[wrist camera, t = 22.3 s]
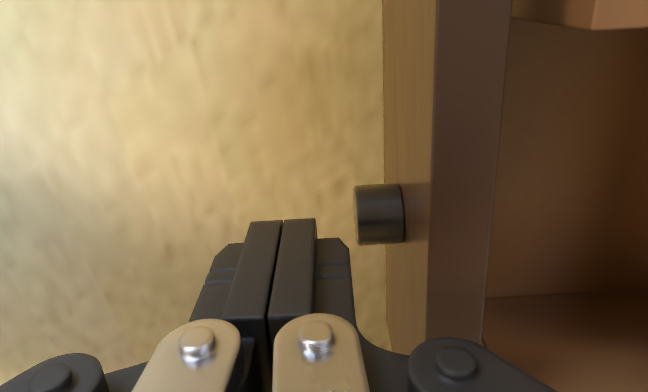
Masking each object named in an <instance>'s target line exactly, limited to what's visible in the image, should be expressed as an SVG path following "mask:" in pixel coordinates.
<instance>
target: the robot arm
mask: <svg viewBox="0 0 648 392" xmlns="http://www.w3.org/2000/svg"><path fill="white" fill-rule="evenodd" d="M0 392H558V391H556V390H554V389H553V388H551V387H549V386H548V385H546V384H544V383H543V382H541V381H539V380H538V379H536V378H534V377H533V376H531V375H530V374H528V373H526V372H525V371H523V370H521V369H520V368H518V367H516V366H515V365H513V364H511V363H510V362H508V361H506V360H505V359H503V358H501V357H500V356H498V355H497V354H495V353H493V352H492V351H490V350H488V349H487V348H485V347H483V346H481V345H479V344H478V343H475V342H473V341H470V340H467V339H463V338H458V337H437V338H433V339H430V340H427V341H424V342H423V343H421V344H419V345H418V346H417V347H416V348H415V349H414V350H413V351H412V352H411V354H410V356H409V355H404V354H399V353H394V352H390V351H387V350H384V349H381V348H379V347H377V346H375V345H373V344H371V343H370V342H369V341H367V340H366V339H365V338H364V337H363V336H362V335H361V333H360V332H359V330H358V328H357V325H356V319H355V308H354V298H353V287H352V277H351V265H350V255H349V248H348V247H347V246H346V245H345V244H344V243H343V242H342V241H341V240H340V239H339V238H325V239H317V227H316V219H315V218H310V219H292V220H284V223H283V221H282V220H276V221H258V222H251V223H250V226H249V229H248V232H247V235H246V239H245V242H244V243H234V244H228V245H227V246H226V247H225V248H224V249H223V250H222V251H220V252H219V253H218V254H217V255H216V256H215V258H214V260H213V263H212V265H211V268H210V273H208V275H207V278H206V280H205V285H203V288H202V290H201V293H200V295H199V298H198V300H197V303H196V305H195V308H194V310H193V313H192V315H191V317H190V320H189V322H188V323H186V324H184V325H182V326H180V327H178V328H176V329H174V330H173V331H171V332H170V333H169V334H167V335H166V336H165V337H164V338H163V339H162V340H161V342H160V343H159V345H158V346H157V348H156V350H155V351H154V353H153V355H152V357H151V358H150V360H149V361H147V362H145V363H142V364H139V365H135V366H132V367H128V368H125V369H121V370H117V371H114V372H110V373H107V374H104V372H103V369H102V366H101V364H100V362H99V361H98V360H97V359H96V358H95V357H93V356H91V355H88V354H82V353H72V354H65V355H61V356H57V357H54V358H51V359H48V360H46V361H44V362H41V363H39V364H37V365H36V366H34V367H32V368H30V369H28V370H27V371H25V372H23V373H22V374H20V375H18V376H16V377H15V378H13V379H11V380H10V381H8V382H6V383H4V384H3V385H1V386H0Z"/></svg>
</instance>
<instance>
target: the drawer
mask: <svg viewBox="0 0 648 392" xmlns="http://www.w3.org/2000/svg"><path fill="white" fill-rule="evenodd" d="M382 18H383V101H384V183H385V184H378V185H362V186H355V187H354V189H353V201H354V220H355V232H356V240H357V244H358V245H359V246H362V245H378V244H385V266H386V320H387V325H388V330H389V335H390V340H391V345H392V350H393V352H394V353H399V354H404V355H409V356H410V354H411V352H412V351H413V350H414V349H415V348H416V347H417V346H418V345H419V344H421V343H423V342H424V341H427V340H430V339H433V338H437V337H458V338H463V339H467V340H470V341H473V342H475V343H478V344H479V345H481V346H483V347H485V348H487V349H488V350H490V351H492V352H493V353H495V354H497V355H498V356H500V357H501V358H503V359H505V360H506V361H508V362H510V363H511V364H513V365H515V366H516V367H518V368H520V369H521V370H523V371H525V372H526V373H528V374H530V375H531V376H533V377H534V378H536V379H538V380H539V381H541V382H543V383H544V384H546V385H548V386H549V387H551V388H553V389H554V390H556V391H558V392H648V0H382Z"/></svg>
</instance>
